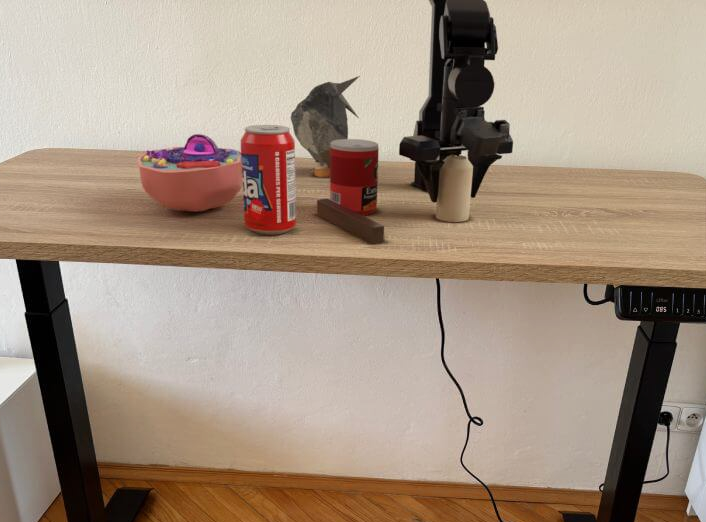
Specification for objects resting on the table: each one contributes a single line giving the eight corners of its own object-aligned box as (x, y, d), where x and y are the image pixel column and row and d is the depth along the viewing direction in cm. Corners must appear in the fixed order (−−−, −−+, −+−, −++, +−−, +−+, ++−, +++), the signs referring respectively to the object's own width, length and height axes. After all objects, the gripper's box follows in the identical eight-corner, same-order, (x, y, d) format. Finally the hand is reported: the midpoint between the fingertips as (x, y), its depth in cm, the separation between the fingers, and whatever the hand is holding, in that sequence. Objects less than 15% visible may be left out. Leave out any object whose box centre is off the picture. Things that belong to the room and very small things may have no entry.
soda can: (301, 235, 118) (299, 131, 111) (248, 238, 116) (243, 132, 109) (291, 221, 125) (288, 123, 117) (241, 224, 122) (236, 123, 115)
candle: (445, 223, 127) (449, 160, 122) (429, 215, 131) (433, 153, 126) (474, 220, 129) (480, 158, 124) (458, 212, 133) (463, 152, 128)
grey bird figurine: (275, 171, 157) (271, 74, 149) (334, 162, 167) (334, 71, 158) (319, 184, 148) (318, 82, 140) (378, 174, 158) (381, 78, 149)
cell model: (115, 215, 125) (105, 142, 119) (186, 190, 141) (181, 124, 136) (206, 229, 119) (200, 153, 114) (269, 201, 136) (267, 133, 130)
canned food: (371, 218, 128) (373, 148, 123) (324, 214, 130) (324, 145, 124) (381, 207, 135) (383, 140, 130) (336, 203, 136) (336, 137, 131)
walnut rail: (327, 213, 130) (327, 198, 129) (383, 242, 116) (384, 225, 115) (317, 214, 129) (316, 199, 128) (372, 243, 115) (372, 227, 114)
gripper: (441, 108, 111) (434, 217, 118) (541, 102, 119) (529, 205, 127) (399, 98, 119) (395, 201, 126) (496, 93, 128) (486, 190, 135)
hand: (453, 199), depth 128 cm, fingers open, 7 cm apart
